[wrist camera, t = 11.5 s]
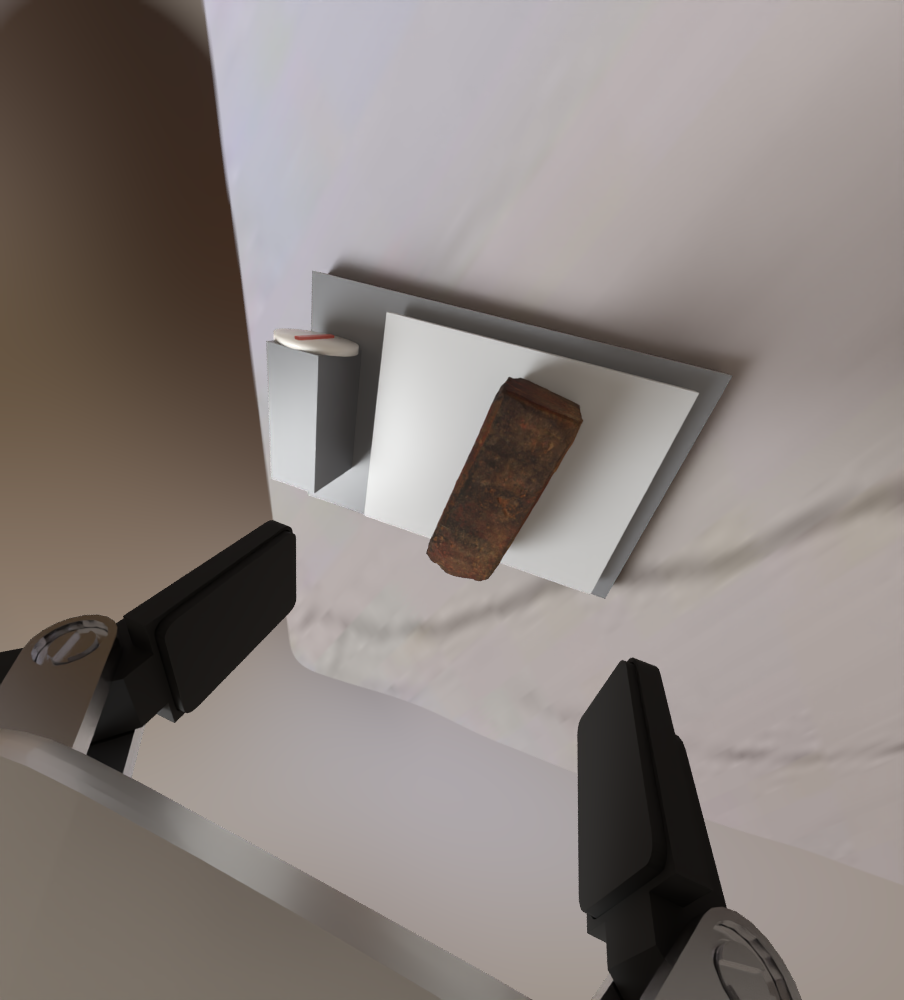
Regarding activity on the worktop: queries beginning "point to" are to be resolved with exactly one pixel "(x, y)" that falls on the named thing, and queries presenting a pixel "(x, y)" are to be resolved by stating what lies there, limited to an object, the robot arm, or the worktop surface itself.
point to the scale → (476, 421)
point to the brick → (503, 477)
